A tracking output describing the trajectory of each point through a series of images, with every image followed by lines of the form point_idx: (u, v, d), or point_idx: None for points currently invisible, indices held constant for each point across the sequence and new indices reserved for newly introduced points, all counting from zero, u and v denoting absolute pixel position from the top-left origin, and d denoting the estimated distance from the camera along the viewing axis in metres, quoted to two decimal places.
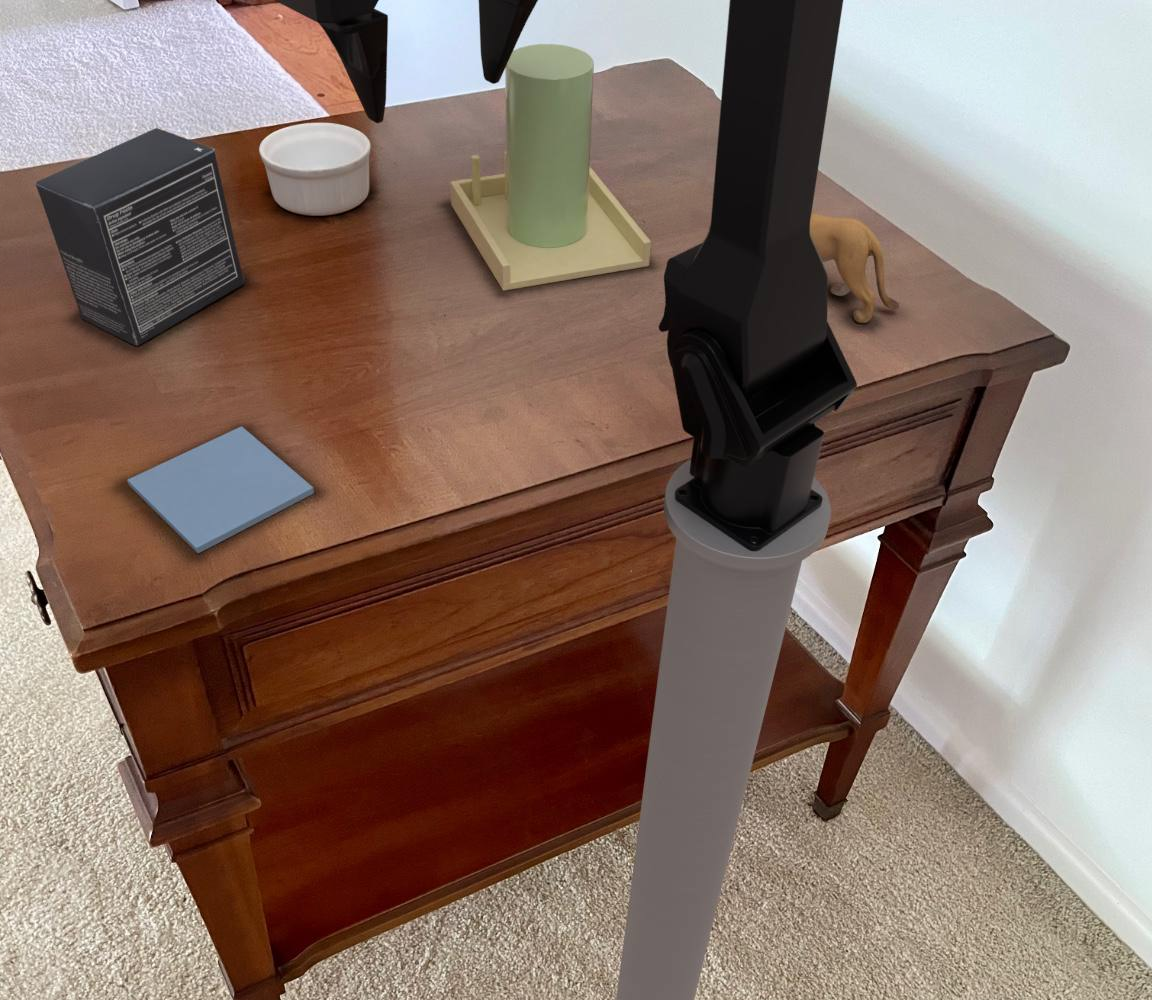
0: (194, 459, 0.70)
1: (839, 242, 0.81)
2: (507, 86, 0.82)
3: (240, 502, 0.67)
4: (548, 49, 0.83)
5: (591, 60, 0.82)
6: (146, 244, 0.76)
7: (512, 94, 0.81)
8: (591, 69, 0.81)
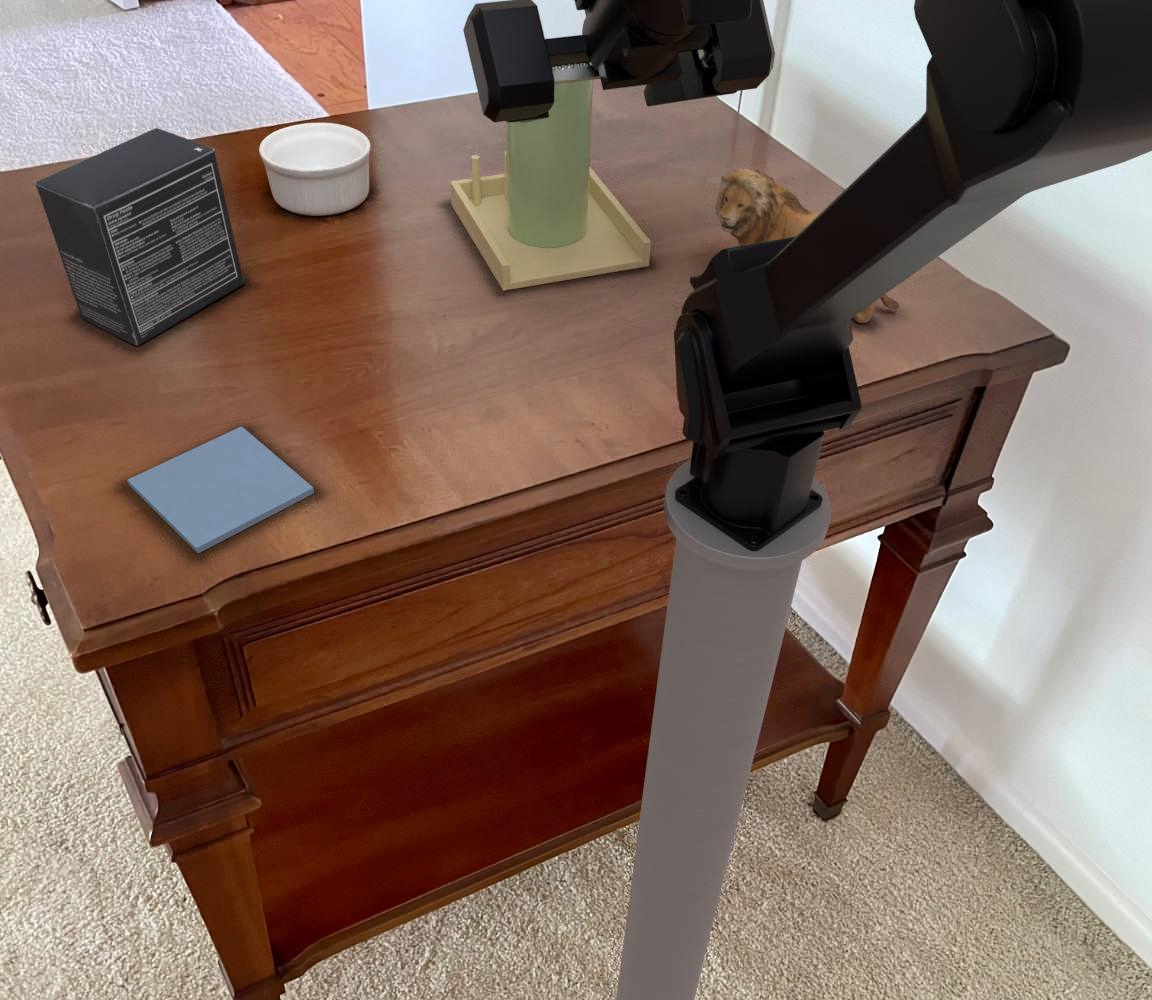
0: (194, 459, 0.70)
1: None
2: None
3: (240, 502, 0.67)
4: None
5: None
6: (146, 244, 0.76)
7: None
8: None
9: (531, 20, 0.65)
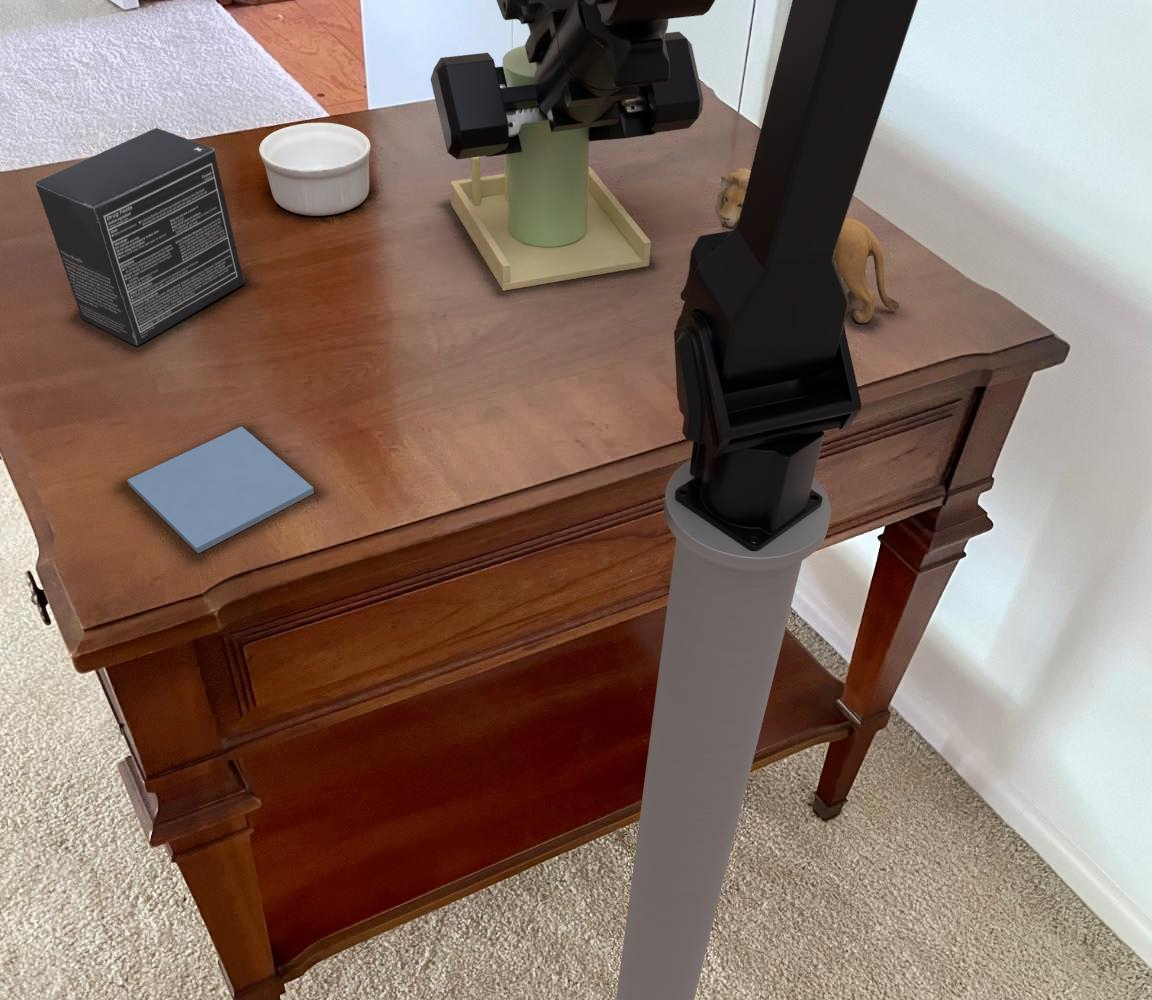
0: (194, 459, 0.70)
1: (839, 242, 0.81)
2: None
3: (240, 502, 0.67)
4: None
5: None
6: (146, 244, 0.76)
7: None
8: None
9: (488, 72, 0.76)
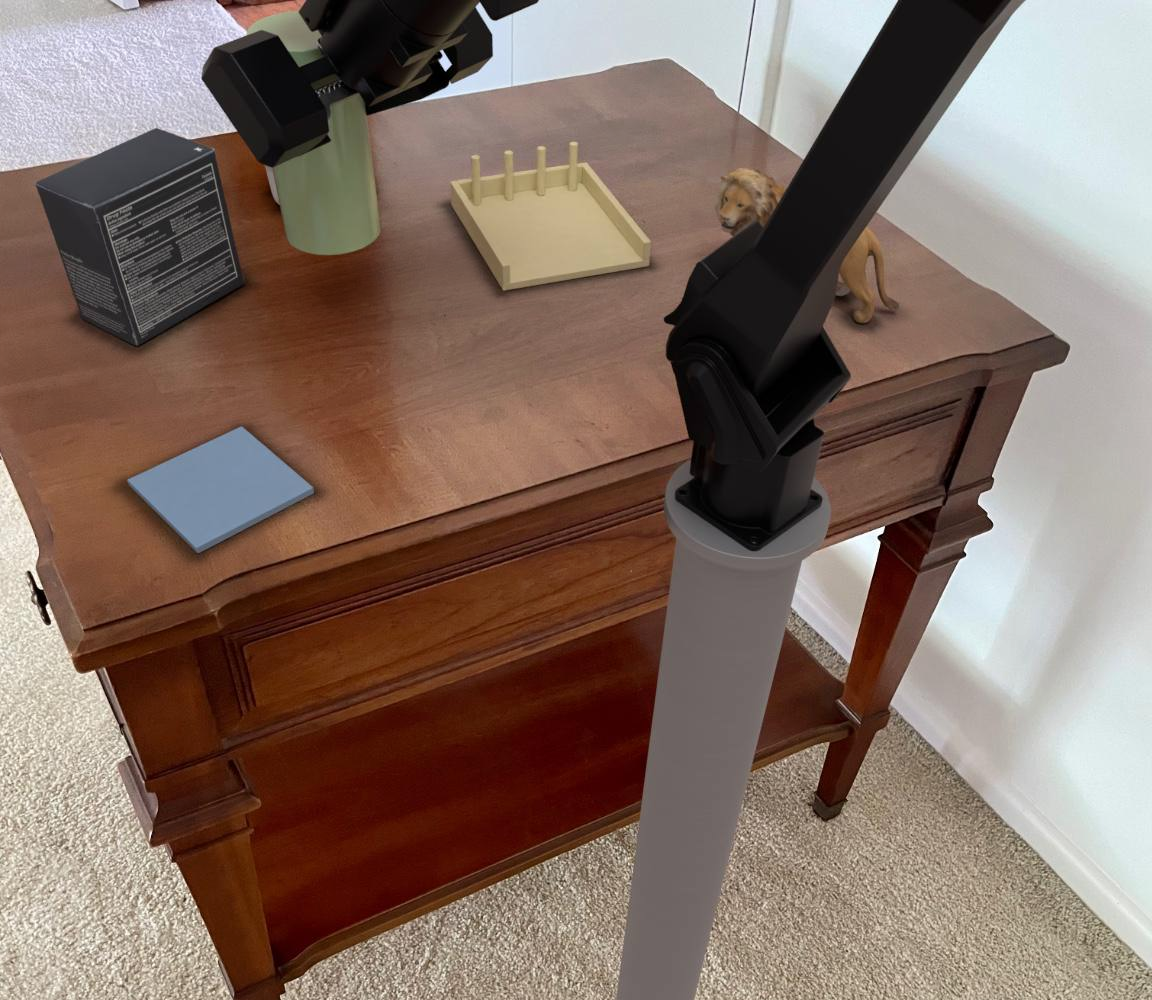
0: (194, 459, 0.70)
1: None
2: None
3: (240, 502, 0.67)
4: (286, 18, 0.69)
5: None
6: (146, 244, 0.76)
7: None
8: None
9: (279, 52, 0.61)
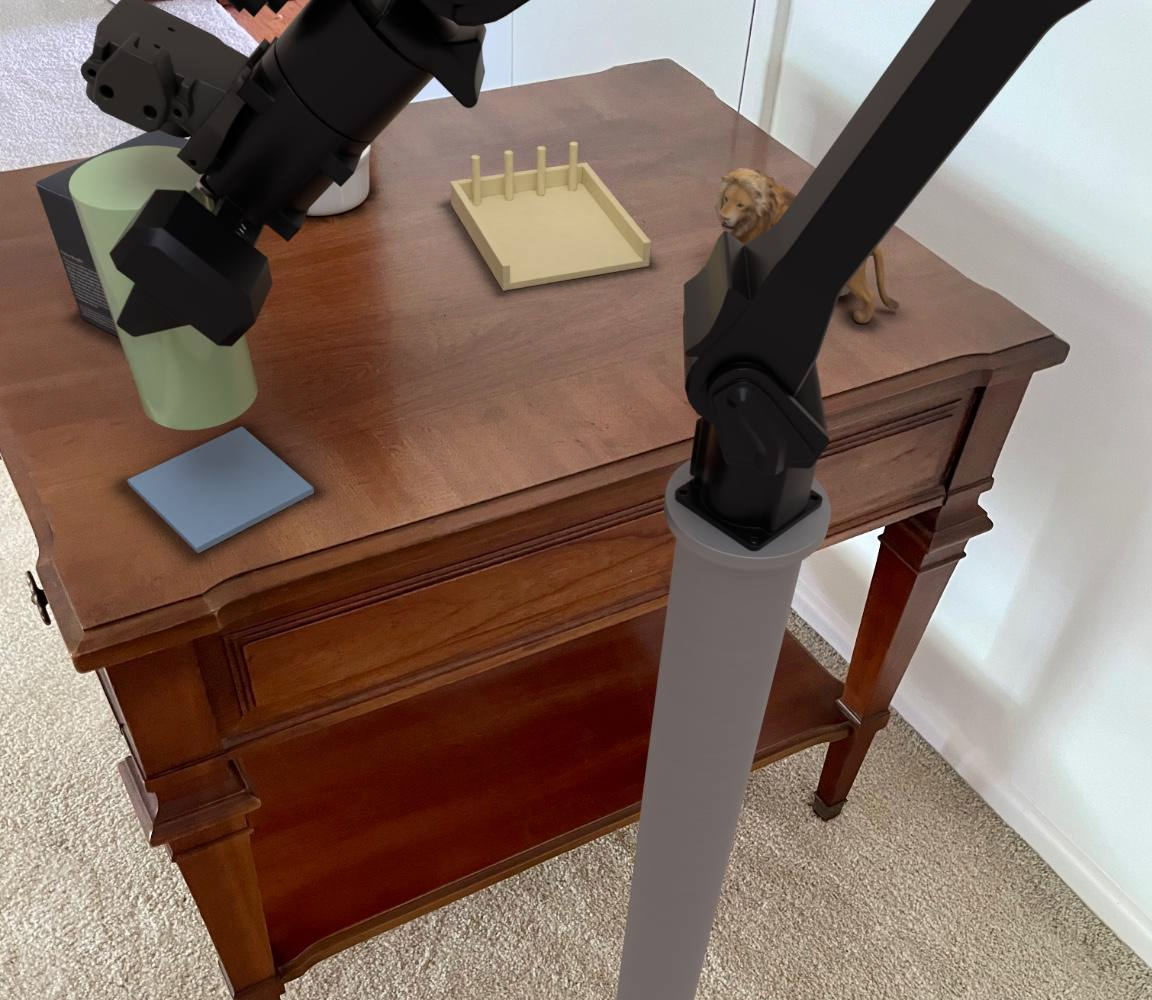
0: (194, 459, 0.70)
1: None
2: None
3: (240, 502, 0.67)
4: (101, 167, 0.55)
5: (172, 148, 0.56)
6: None
7: None
8: None
9: (197, 209, 0.49)
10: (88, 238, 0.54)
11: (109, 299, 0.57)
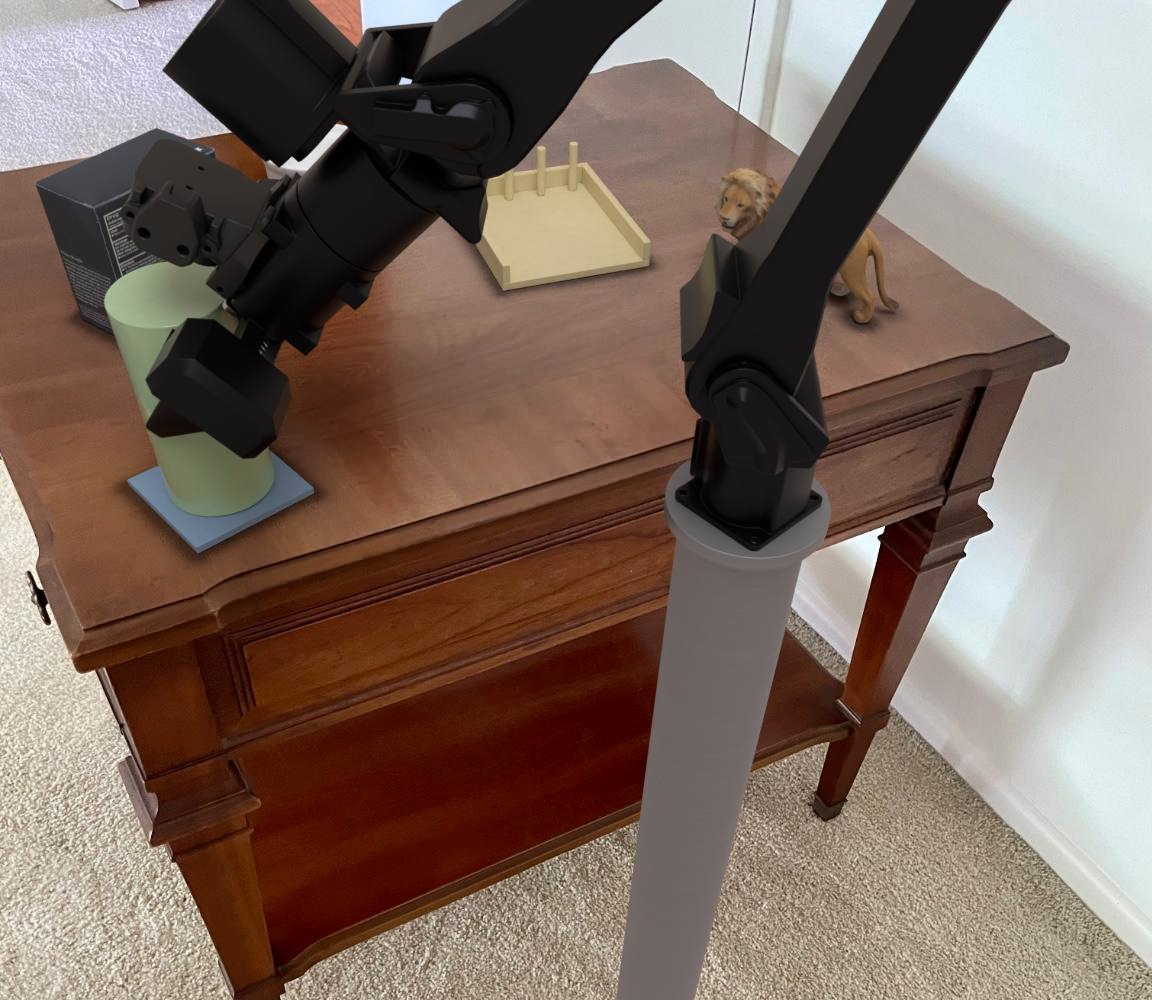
0: None
1: None
2: (156, 351, 0.58)
3: None
4: (133, 284, 0.59)
5: None
6: None
7: None
8: None
9: (225, 336, 0.54)
10: (122, 350, 0.59)
11: (140, 402, 0.61)
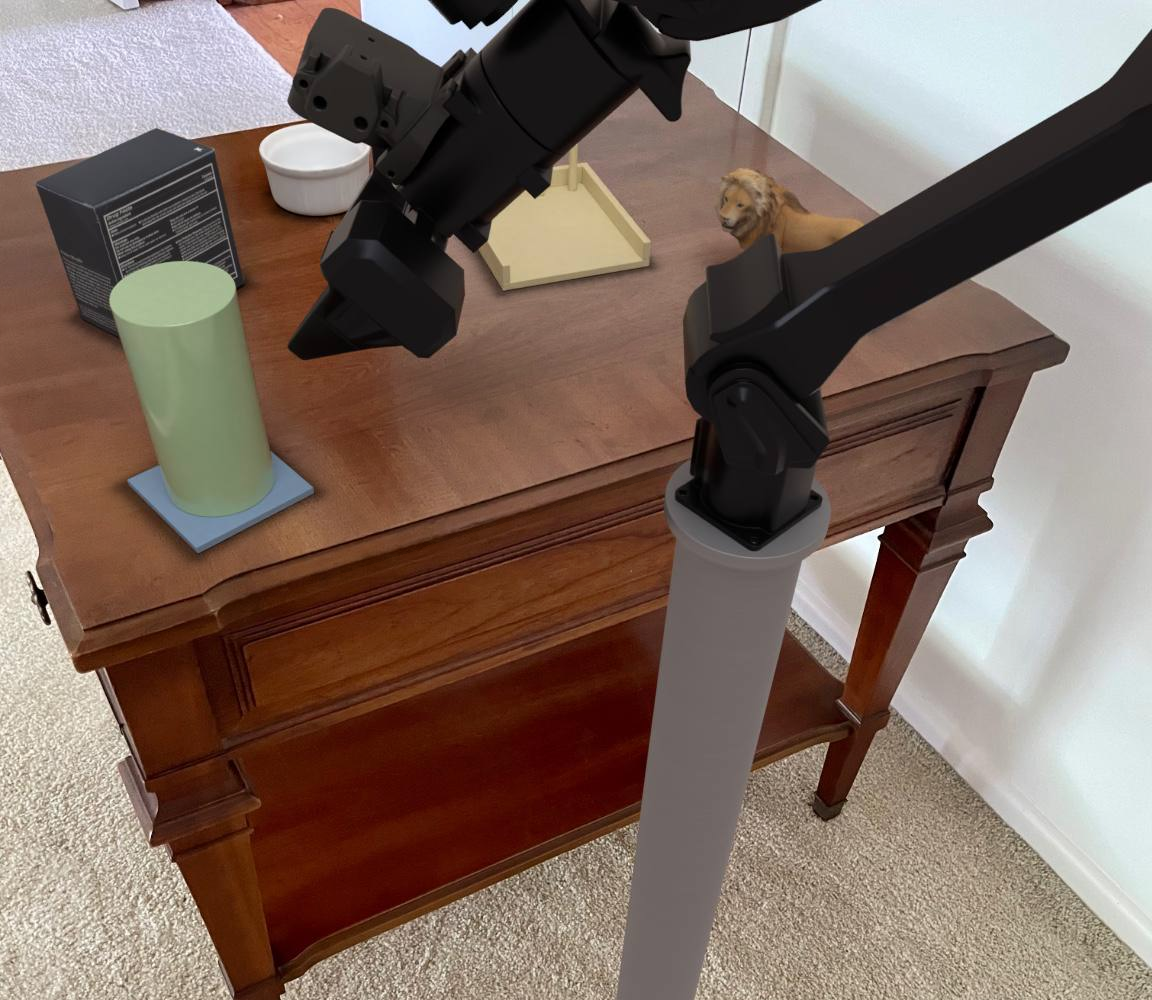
0: None
1: None
2: (160, 350, 0.58)
3: None
4: (138, 283, 0.60)
5: (203, 263, 0.61)
6: (146, 244, 0.76)
7: (178, 354, 0.58)
8: None
9: (403, 221, 0.49)
10: (126, 348, 0.59)
11: (142, 401, 0.62)
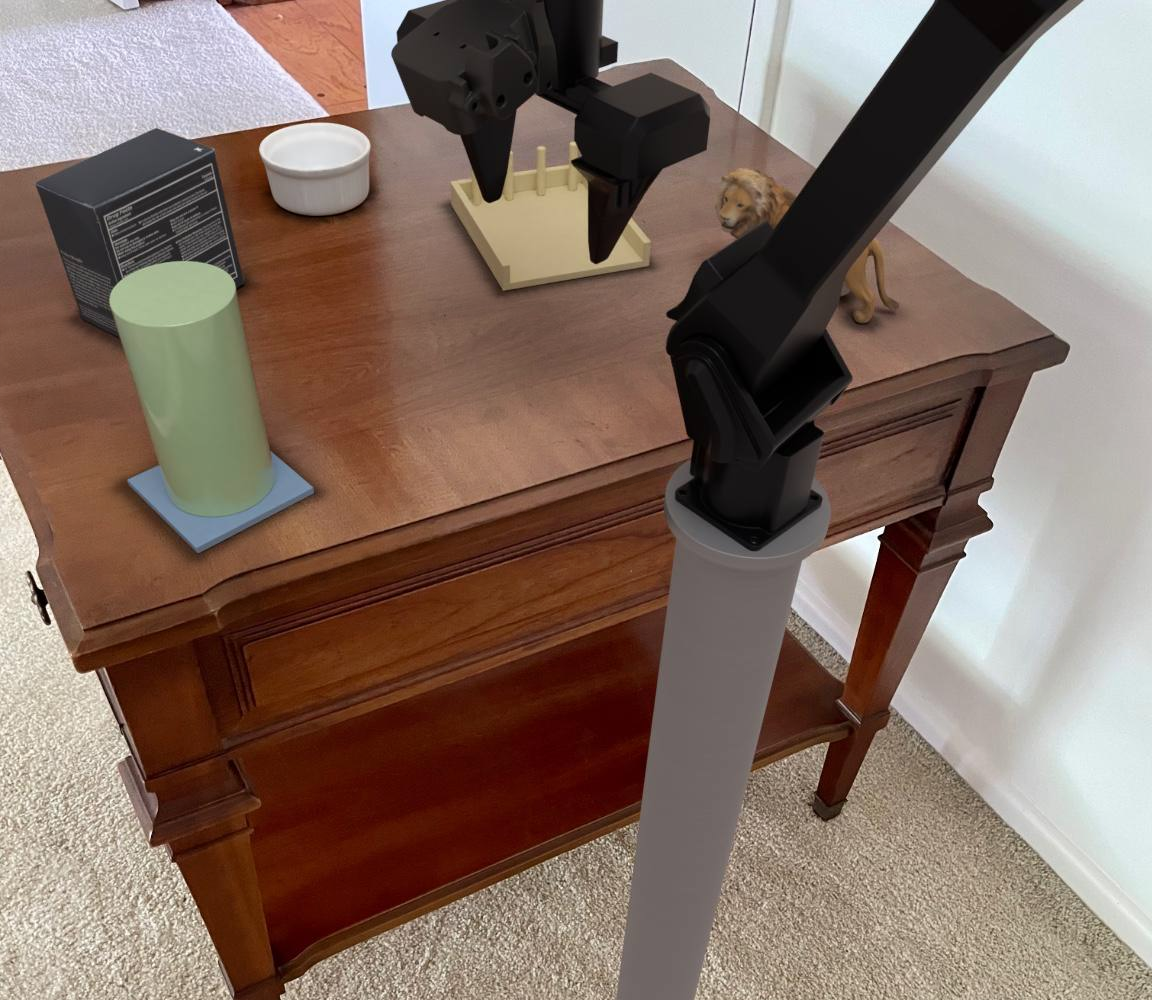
0: None
1: None
2: (160, 350, 0.58)
3: None
4: (138, 283, 0.60)
5: (203, 263, 0.61)
6: (146, 244, 0.76)
7: (178, 354, 0.58)
8: None
9: (608, 94, 0.55)
10: (126, 348, 0.59)
11: (142, 401, 0.62)
